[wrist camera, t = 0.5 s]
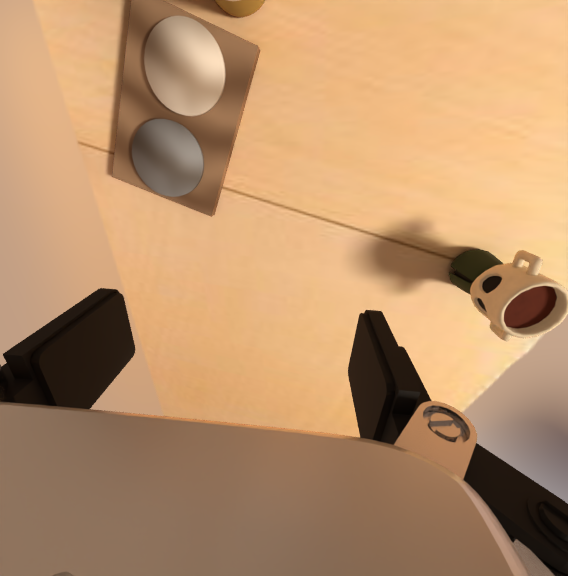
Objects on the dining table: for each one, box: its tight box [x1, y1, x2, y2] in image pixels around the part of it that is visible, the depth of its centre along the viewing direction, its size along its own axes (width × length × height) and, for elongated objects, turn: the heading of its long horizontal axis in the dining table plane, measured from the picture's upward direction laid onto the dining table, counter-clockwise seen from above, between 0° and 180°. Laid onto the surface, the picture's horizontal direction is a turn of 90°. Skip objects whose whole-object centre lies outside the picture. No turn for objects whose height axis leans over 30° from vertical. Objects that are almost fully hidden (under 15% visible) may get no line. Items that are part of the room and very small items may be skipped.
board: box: [112, 0, 260, 217], centre depth 34 cm, size 20×14×2 cm
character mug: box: [449, 249, 568, 341], centre depth 36 cm, size 11×7×13 cm, turn 1°
